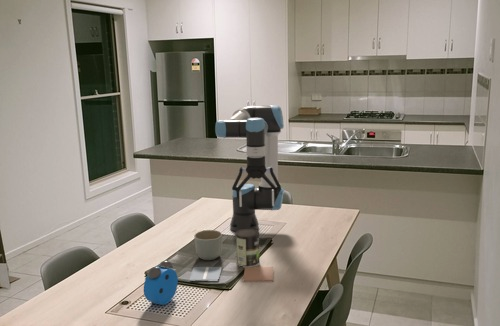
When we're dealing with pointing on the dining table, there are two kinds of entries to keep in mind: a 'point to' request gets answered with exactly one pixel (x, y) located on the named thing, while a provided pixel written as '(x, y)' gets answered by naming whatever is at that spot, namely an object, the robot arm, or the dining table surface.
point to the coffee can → (247, 247)
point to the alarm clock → (161, 284)
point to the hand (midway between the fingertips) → (256, 205)
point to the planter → (208, 244)
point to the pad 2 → (258, 274)
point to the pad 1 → (205, 273)
